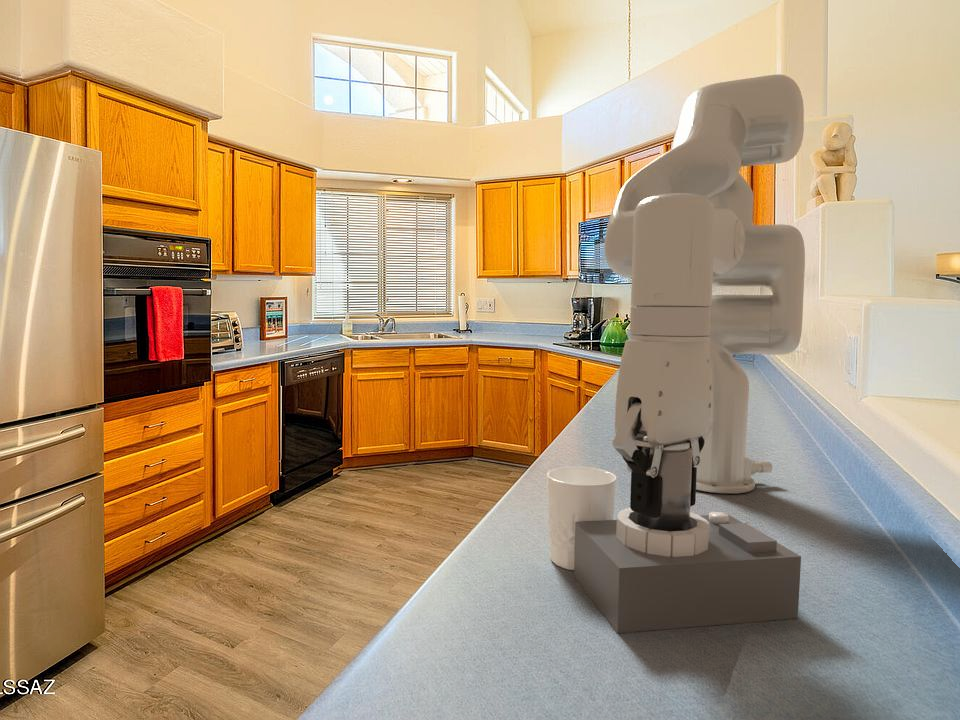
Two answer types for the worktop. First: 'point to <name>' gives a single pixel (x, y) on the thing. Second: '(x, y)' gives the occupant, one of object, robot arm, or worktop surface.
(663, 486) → the shiny metal cylinder
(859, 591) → the worktop surface
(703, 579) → the camera body
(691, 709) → the worktop surface
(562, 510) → the white cup
